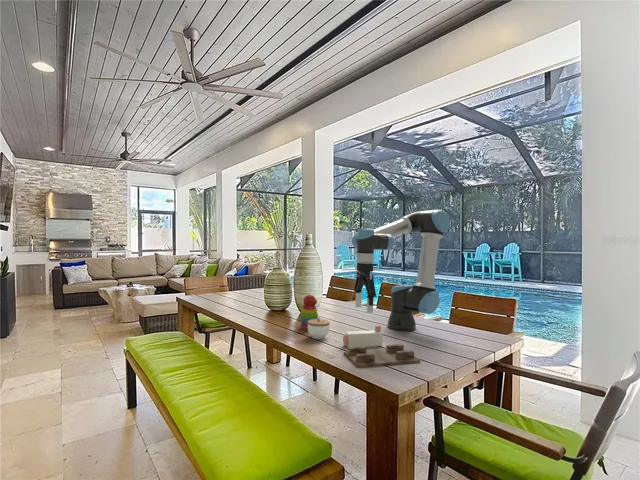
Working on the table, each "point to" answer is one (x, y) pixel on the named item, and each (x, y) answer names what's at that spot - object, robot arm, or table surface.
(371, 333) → the block
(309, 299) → the stacking bear
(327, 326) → the lidded jar
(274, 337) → the table surface
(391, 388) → the table surface
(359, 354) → the cradle
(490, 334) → the table surface
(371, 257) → the robot arm
